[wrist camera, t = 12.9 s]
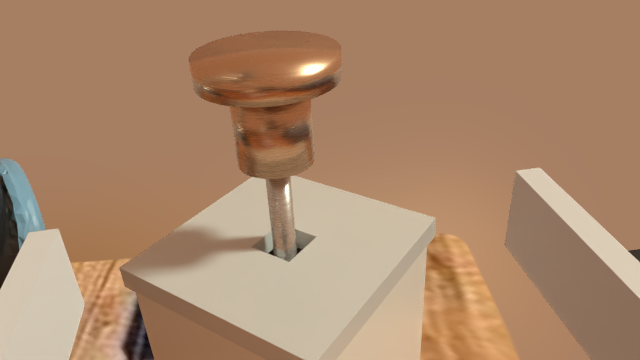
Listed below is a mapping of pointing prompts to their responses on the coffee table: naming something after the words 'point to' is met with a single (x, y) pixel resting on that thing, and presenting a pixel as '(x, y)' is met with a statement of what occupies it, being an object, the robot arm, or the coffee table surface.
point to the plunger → (270, 108)
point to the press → (286, 280)
